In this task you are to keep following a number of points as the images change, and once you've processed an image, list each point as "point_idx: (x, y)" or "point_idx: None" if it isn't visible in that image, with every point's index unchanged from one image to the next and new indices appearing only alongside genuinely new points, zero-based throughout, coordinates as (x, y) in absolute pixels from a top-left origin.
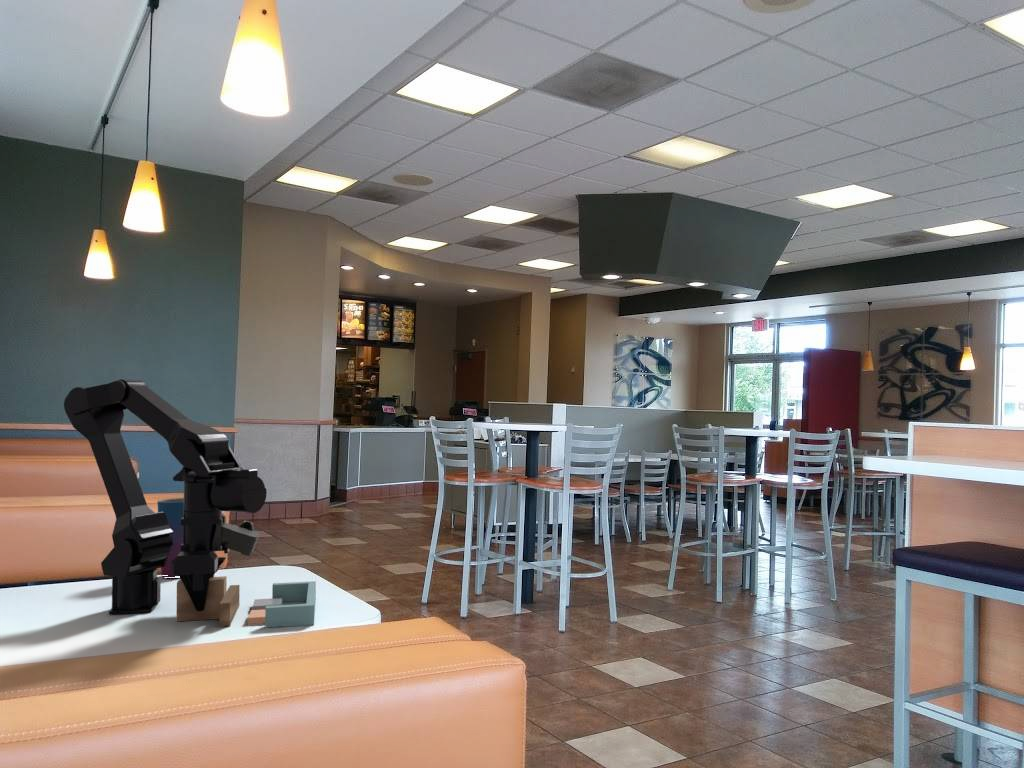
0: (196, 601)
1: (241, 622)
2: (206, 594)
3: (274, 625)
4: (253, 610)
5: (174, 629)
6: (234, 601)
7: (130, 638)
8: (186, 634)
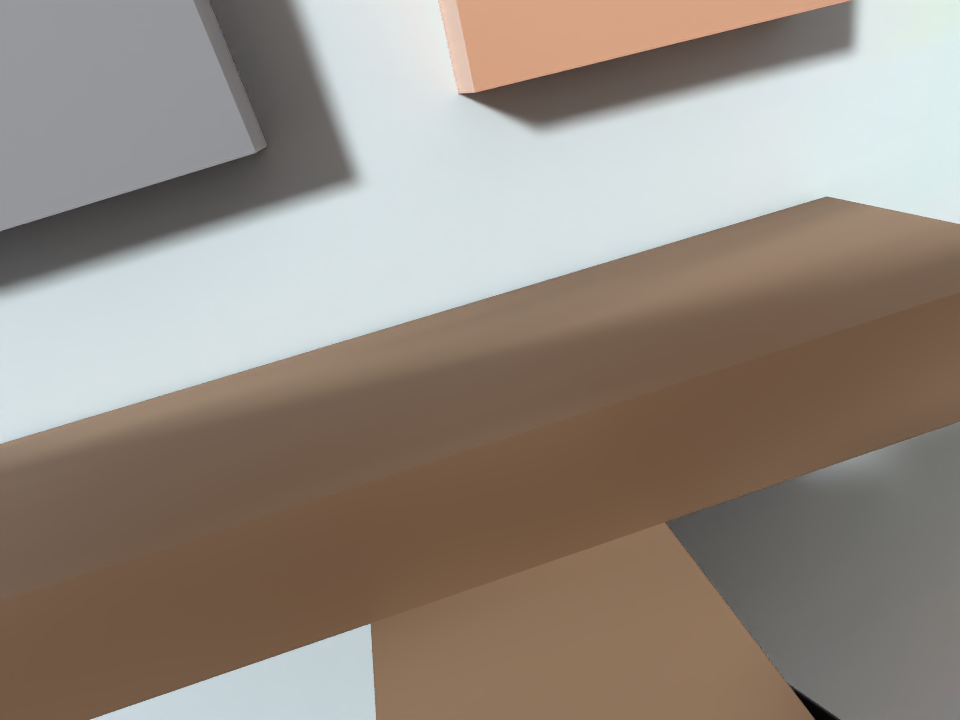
0: None
1: (689, 127)
2: (809, 704)
3: None
4: (487, 50)
5: (804, 591)
6: (522, 370)
7: (929, 704)
8: (948, 454)
